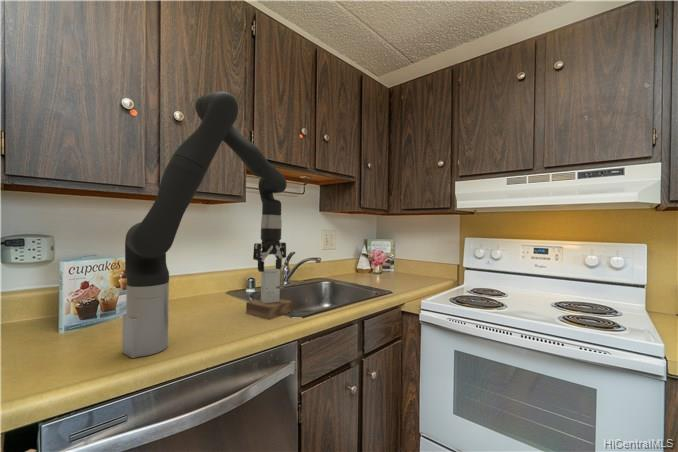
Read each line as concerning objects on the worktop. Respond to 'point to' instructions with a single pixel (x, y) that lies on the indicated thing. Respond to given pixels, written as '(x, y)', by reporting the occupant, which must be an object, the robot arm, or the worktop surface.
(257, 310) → the walnut plinth
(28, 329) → the worktop surface
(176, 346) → the worktop surface
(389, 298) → the worktop surface
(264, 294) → the skincare box
